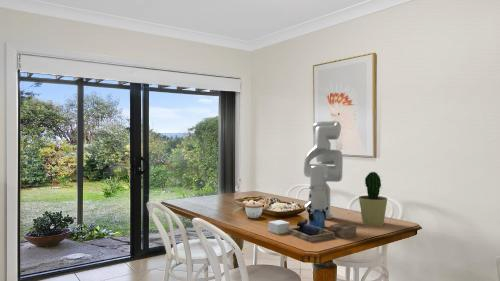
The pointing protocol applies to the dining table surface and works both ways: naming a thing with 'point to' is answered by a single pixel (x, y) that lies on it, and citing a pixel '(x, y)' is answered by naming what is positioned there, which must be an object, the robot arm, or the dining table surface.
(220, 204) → the dining table surface
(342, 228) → the walnut block
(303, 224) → the navy pump bottle
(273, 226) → the grey block
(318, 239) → the wooden tray
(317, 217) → the perfume bottle
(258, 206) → the filled white bowl
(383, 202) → the potted cactus
